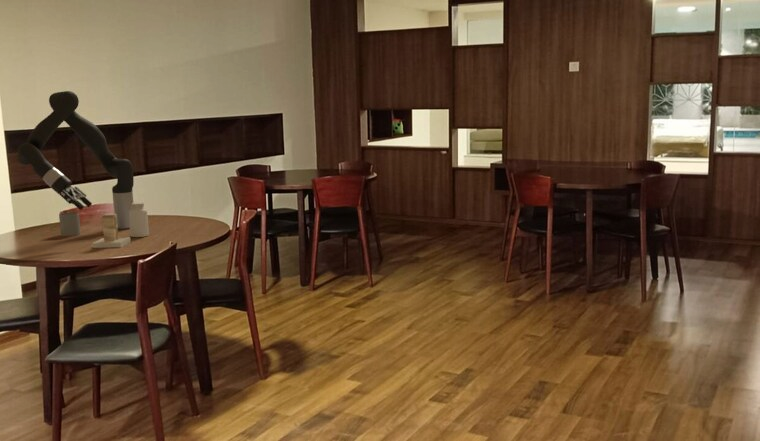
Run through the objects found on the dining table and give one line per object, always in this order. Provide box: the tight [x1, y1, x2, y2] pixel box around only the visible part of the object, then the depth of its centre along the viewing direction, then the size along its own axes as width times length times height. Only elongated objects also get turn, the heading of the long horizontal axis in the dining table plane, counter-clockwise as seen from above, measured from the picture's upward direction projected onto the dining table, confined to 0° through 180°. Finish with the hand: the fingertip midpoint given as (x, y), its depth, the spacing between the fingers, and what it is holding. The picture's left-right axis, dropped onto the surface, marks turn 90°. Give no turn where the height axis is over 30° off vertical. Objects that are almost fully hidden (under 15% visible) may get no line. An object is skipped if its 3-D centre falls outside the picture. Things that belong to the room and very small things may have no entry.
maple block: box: [101, 213, 119, 241], centre depth 322 cm, size 4×4×11 cm
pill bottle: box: [129, 202, 150, 238], centre depth 341 cm, size 8×8×15 cm
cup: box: [58, 211, 81, 237], centre depth 350 cm, size 8×8×10 cm
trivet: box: [91, 236, 132, 249], centre depth 323 cm, size 12×12×2 cm
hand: (86, 206), depth 321 cm, fingers open, 8 cm apart
